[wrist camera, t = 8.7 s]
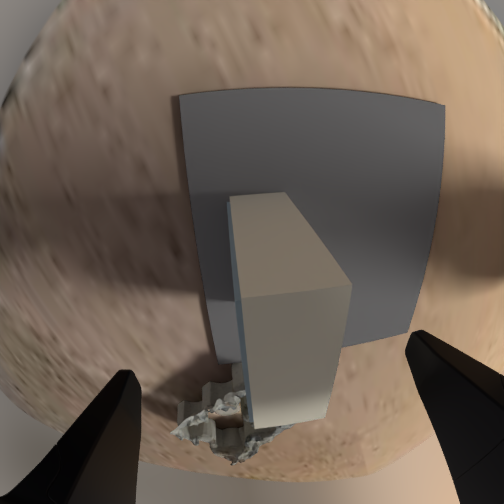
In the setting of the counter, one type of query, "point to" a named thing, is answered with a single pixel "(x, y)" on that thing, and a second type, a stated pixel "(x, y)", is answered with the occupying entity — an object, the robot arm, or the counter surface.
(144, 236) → the counter surface
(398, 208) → the mat
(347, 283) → the card box
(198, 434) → the egg carton
